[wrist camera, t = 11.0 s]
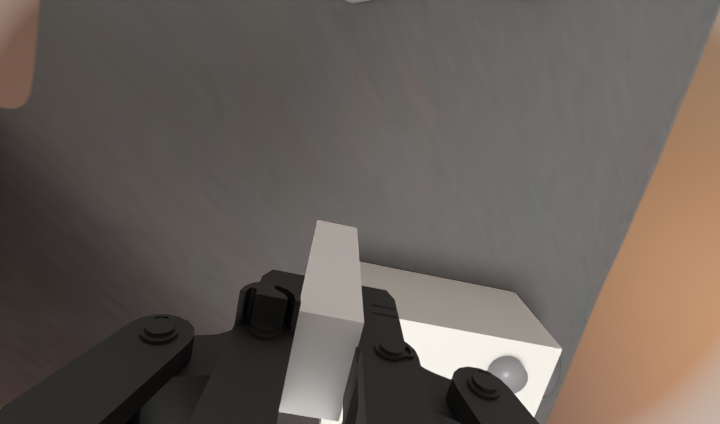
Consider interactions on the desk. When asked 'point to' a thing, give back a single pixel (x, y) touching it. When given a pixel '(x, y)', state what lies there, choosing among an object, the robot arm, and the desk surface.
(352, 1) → the smartphone
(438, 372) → the block
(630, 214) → the desk surface
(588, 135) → the desk surface
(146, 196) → the desk surface
